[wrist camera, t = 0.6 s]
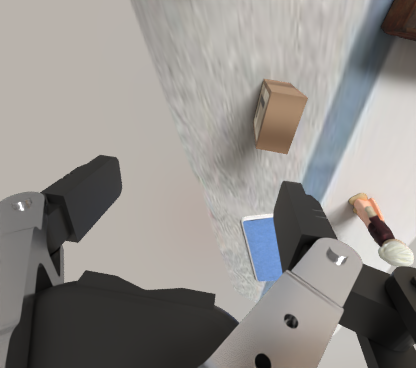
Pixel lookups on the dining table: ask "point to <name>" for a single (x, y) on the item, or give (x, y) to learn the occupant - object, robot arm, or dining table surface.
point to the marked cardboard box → (277, 116)
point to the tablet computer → (262, 246)
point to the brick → (401, 19)
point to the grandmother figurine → (381, 232)
